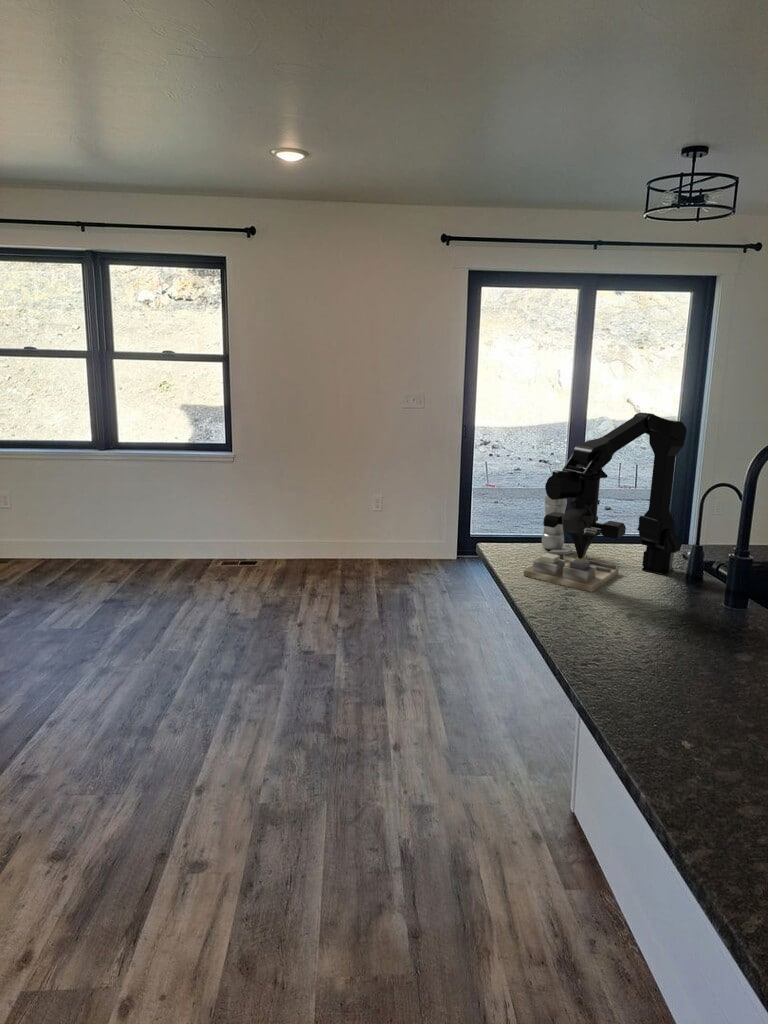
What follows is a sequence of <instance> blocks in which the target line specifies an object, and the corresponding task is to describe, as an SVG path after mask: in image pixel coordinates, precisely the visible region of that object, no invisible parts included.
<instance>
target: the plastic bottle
mask: <svg viewBox="0 0 768 1024" xmlns="http://www.w3.org/2000/svg"><path fill="white" fill-rule="evenodd" d="M567 504H568V499H557V500H552V499H550V498H549V497H548V495H547V494H546V495H545V497H544V510H545V511H544V512H545V514H544V515H545V516H546V515H547V514H550V513H552V512H558V513H566V508H567ZM545 516H544V517H545ZM543 526H544V525H543ZM541 536H542V537H541V546H542V548H544V549H545V550H550V551H551V550H562V548H564V547H563V546H564V544H565V535H564V530H563V526H562V525H561V524H558V525H557V526H556V527H554V528H552V527H547V526H544V528H543V533H542V535H541Z"/></svg>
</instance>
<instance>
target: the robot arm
mask: <svg viewBox="0 0 768 1024" xmlns="http://www.w3.org/2000/svg"><path fill="white" fill-rule="evenodd" d="M687 431H688V430H687V426H685V424H684V423H683V422H682V421H681V420H680V421H679V420H671V419H667V418H663V417H660V416H658V415H656V414H654V413H648V412H637V413H636V414H634V415H633V416H632V417H631V418H629V419H628V420H626V421H625V422H623V423H622V424H620V425H619V426H617V427H616V428H614V429H612V430H611V431H610V432H608V433H606V434H604V435H602V436H601V437H599V438H594V439H590V440H587V441H584V442H581V443H579V444H577V445H576V446H575V447H574V449H573V452H572V454H571V455H570V457H569V458H568V460H567V461H566V463H565V465H564V466H563V468H561V469H562V470H552V472H551V473H552V474H551V475H550V476H549V477H548V478H547V480H546V483H545V485H544V486H545V487H544V488H545V489H544V490H545V493H546V496H547V495H548V497H549V498H550V499H552V500H557V499H567V500H569V499H573V500H571V502H570V507H569V508H568V510H567V511H565V513H558V512H552V513H550V514H547V515H546V516H544V518H543V524H542V526H547V527H552V528H554V527H556V526H557V525H558V524H561V525H562V526H563V532H564V533H566V534H568V535H569V536H570V537H571V540H572V541H573V544H574V548H575V551H576V552H575V553H576V556H577V555H578V558H579V559H582V558H583V557H584V555H585V553H586V554H587V551H588V549H589V548H590V546H591V544H592V542H593V541H594V539H595V537H598V536H600V535H602V537H604V538H610V539H614V540H615V539H616V540H617V539H619V538H621V537H622V536H624V535H626V530H627V529H626V525H625V523H624V522H619V521H615V520H614V521H612V520H608V521H606V522H604V523H600V522H598V521H599V516H598V508H599V507H598V506H599V505H600V502H601V500H600V499H599V495H600V482H601V479H607V478H608V474H607V473H606V472H605V471H604V470H603V468H604V467H605V466H606V465H608V464H609V463H610V462H611V461H612V460H613V456H614V454H615V453H617V451H620V450H621V449H622V448H624V447H625V446H627V445H629V444H631V443H632V442H633V441H635V440H636V439H638V438H639V437H641V436H643V435H644V434H646V435H648V437H649V438H648V440H649V442H648V443H649V445H650V448H651V450H652V452H653V455H654V457H653V467H652V475H651V476H652V477H651V483H650V484H651V486H650V493H649V495H650V496H649V504H648V509H647V511H646V512H645V513H644V514H643V515H639V517H638V527H637V529H636V530H637V532H638V536H639V537H640V541H641V546H646V548H645V551H643V556H642V557H643V558H642V564H641V565H642V568H641V570H642V571H643V572H644V571H645V572H649V573H656V574H660V575H664V576H668V575H669V574H670V573H672V572H673V571H674V570H675V568H674V567H673V563H674V554H677V552H680V550H681V548H682V545H683V543H682V541H681V540H680V539H679V537H678V536H677V535H676V533H675V532H676V530H675V527H676V524H675V520H674V519H673V516H672V514H671V511H670V508H671V501H672V492H673V491H672V490H673V483H674V473H675V465H676V457H677V455H678V454H679V453H680V451H681V450H682V448H683V447H684V445H685V440H686V437H687ZM672 570H673V571H672Z"/></svg>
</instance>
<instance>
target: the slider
mask: <svg viewBox="0 0 768 1024" xmlns="http://www.w3.org/2000/svg"><path fill="white" fill-rule="evenodd" d="M586 557H587V552H586V553H585V555H584V557H583V558H582V559H579V558H578V555H577V554H576V558H575V559H578V560H583V561H588V560H589V559H587V558H586Z"/></svg>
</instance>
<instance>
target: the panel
mask: <svg viewBox="0 0 768 1024" xmlns="http://www.w3.org/2000/svg"><path fill="white" fill-rule="evenodd" d="M564 555H565V554H560V555H559V556H560V558H559V562H557V563H555V564H550V563H546V562H541V561H540V557H539V558H537V559H534V560H533V565H532V566H529V567H528V568H526V569H524V570H523V577H526V576H528V577H527V578H530V577H533V578H532V579H534V578H536V579H535V580H539V579H541V580H540V581H543V580H546V581H545V582H547V581H550V582H549V583H551V582H553V583H552V584H556V583H558V584H557V585H560V584H561V586H564V585H565V587H568V586H569V587H570V588H574V589H577V590H582V591H586V592H590V593H593V592H594V591H595V590H597V589H598V588H600V587H602V585H604V584H605V583H608V582H609V581H610V580H611V579H613V578H614V577H616V576H617V575H618V574H619V571H620V570H619V569H620V568H618V567H617V565H615V564H610V563H606V562H600V561H595V560H592V559H591V560H590V559H587V560H588V562H590V568H589V569H587V570H585V571H583V570H578V569H574V568H570V562H572V561H574V560H575V559H576V558H571V557H567V556H564Z"/></svg>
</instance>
